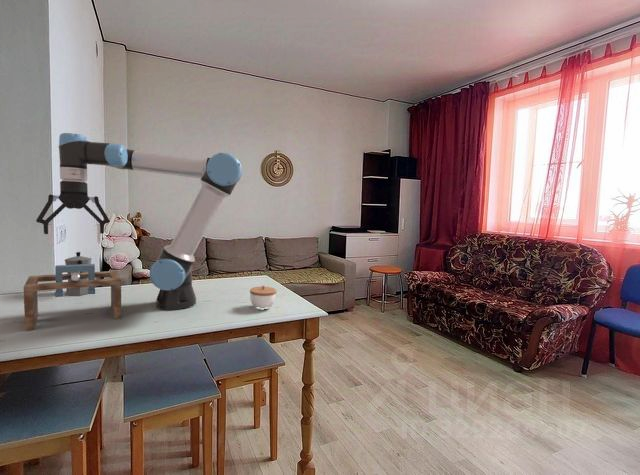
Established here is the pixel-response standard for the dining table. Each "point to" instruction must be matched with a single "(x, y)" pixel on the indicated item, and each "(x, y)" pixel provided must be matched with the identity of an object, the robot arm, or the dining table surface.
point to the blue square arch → (74, 268)
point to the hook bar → (75, 277)
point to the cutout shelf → (33, 287)
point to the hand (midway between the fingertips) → (75, 243)
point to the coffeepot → (77, 261)
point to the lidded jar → (262, 296)
